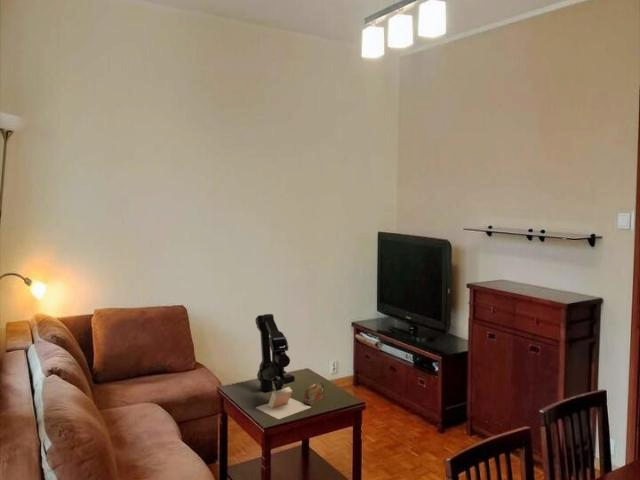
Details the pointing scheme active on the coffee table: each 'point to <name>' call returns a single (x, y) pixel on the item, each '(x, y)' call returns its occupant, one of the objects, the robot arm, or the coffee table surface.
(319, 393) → the tin
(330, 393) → the coffee table surface
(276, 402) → the tile
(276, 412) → the felt mat
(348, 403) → the coffee table surface
